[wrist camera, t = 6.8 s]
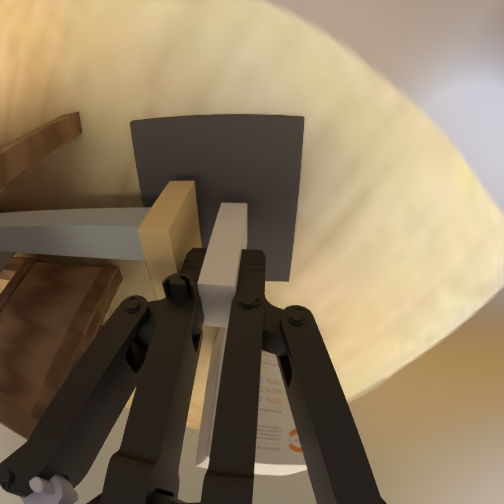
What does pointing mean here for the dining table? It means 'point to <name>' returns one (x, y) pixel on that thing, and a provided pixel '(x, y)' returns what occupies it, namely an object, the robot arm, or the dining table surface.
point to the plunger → (112, 232)
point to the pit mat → (229, 173)
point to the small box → (269, 417)
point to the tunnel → (44, 303)
